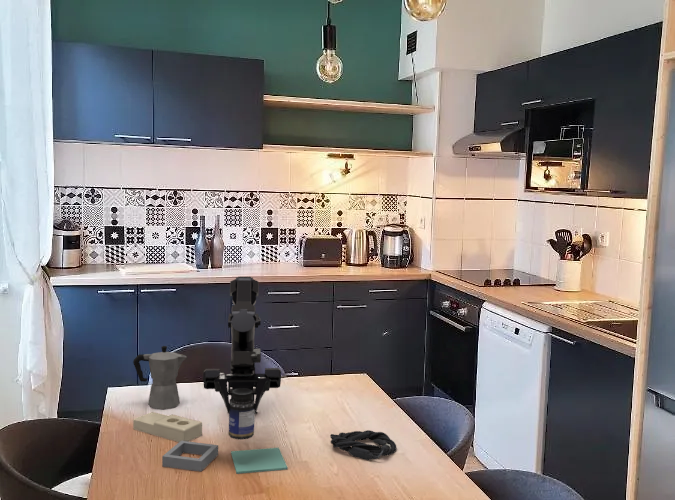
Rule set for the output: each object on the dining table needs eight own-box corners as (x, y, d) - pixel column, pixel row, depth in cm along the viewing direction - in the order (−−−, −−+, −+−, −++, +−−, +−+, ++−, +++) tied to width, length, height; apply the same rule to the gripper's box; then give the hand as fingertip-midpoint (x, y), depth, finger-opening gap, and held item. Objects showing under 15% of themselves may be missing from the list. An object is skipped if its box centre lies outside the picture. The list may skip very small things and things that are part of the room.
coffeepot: (186, 398, 204) (186, 341, 202) (186, 409, 195) (186, 349, 193) (134, 400, 201) (134, 342, 199) (132, 411, 192) (131, 350, 190)
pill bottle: (225, 432, 160) (226, 388, 159) (249, 429, 163) (250, 385, 162) (232, 442, 155) (233, 396, 154) (257, 438, 157) (258, 393, 156)
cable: (319, 451, 168) (319, 434, 168) (344, 433, 180) (345, 418, 180) (380, 466, 160) (381, 449, 160) (402, 446, 172) (403, 430, 172)
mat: (231, 453, 164) (231, 451, 164) (278, 449, 168) (278, 447, 168) (236, 473, 153) (236, 471, 153) (287, 469, 156) (287, 467, 156)
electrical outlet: (152, 408, 184) (202, 421, 175) (152, 422, 185) (202, 436, 176) (133, 416, 178) (184, 429, 169) (133, 430, 178) (183, 445, 170)
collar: (181, 450, 165) (181, 440, 165) (218, 454, 163) (218, 445, 163) (162, 466, 156) (162, 456, 155) (201, 471, 154) (201, 461, 153)
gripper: (203, 336, 159) (200, 396, 149) (281, 336, 161) (283, 394, 152) (205, 359, 167) (202, 417, 158) (279, 358, 170) (280, 415, 160)
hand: (242, 410), depth 157 cm, fingers closed on pill bottle, 6 cm apart
